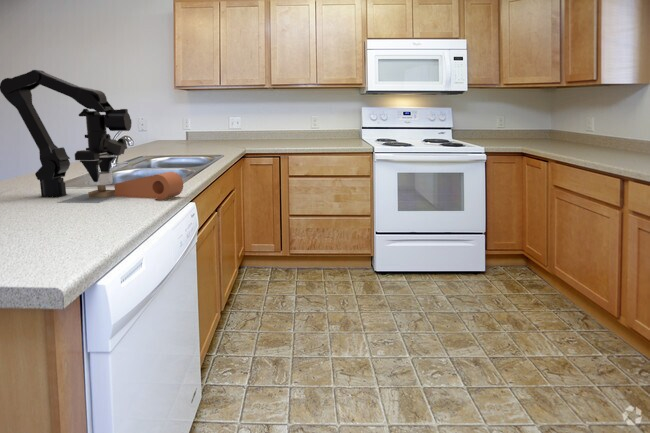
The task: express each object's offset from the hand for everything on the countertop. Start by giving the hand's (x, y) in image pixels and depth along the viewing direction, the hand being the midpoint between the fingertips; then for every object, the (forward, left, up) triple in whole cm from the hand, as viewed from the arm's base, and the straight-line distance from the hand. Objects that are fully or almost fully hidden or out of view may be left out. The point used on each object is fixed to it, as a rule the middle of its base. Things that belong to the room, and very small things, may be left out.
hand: (100, 180), depth 183 cm
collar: (0, 0, -1) cm, 1 cm away
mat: (-1, -5, -6) cm, 8 cm away
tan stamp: (0, 0, -5) cm, 5 cm away
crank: (+15, +1, -5) cm, 16 cm away
